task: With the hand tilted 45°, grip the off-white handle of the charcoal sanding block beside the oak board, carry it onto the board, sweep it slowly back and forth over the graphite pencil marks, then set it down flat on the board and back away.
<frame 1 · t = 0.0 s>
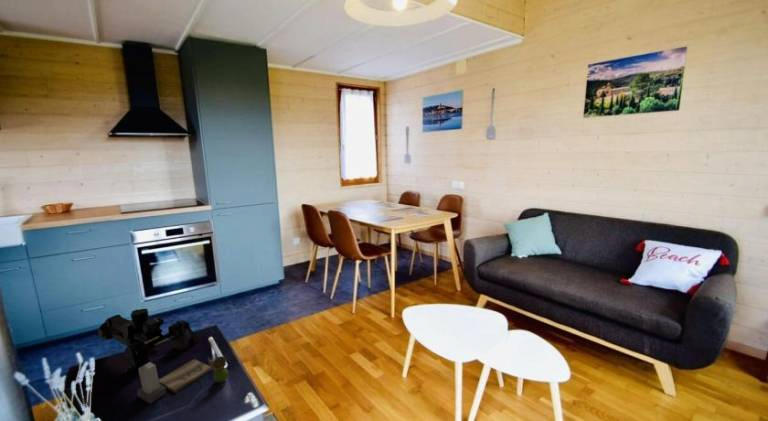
hand: (169, 346, 131), 17 cm above the table, tool horizontal, fingers open, 9 cm apart
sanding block: (152, 394, 129), on the table
oak board: (185, 376, 139), on the table
door stopper: (186, 345, 161), on the table
snail figurine: (220, 382, 135), on the table
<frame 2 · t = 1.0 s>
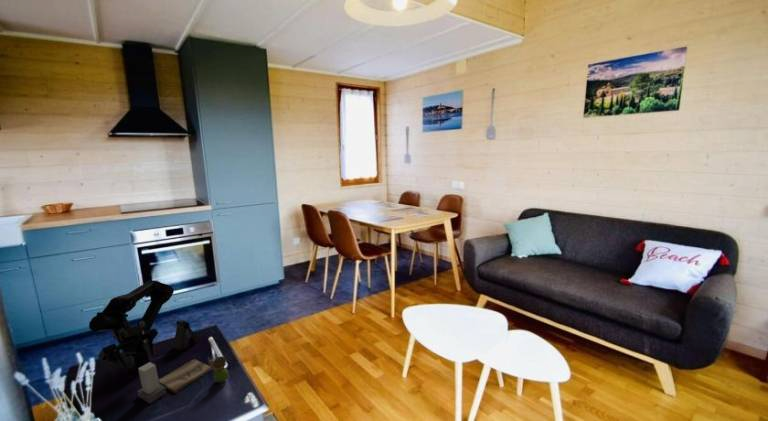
hand: (139, 362, 131), 11 cm above the table, tool tilted 45°, fingers open, 9 cm apart
nothing on the table moved.
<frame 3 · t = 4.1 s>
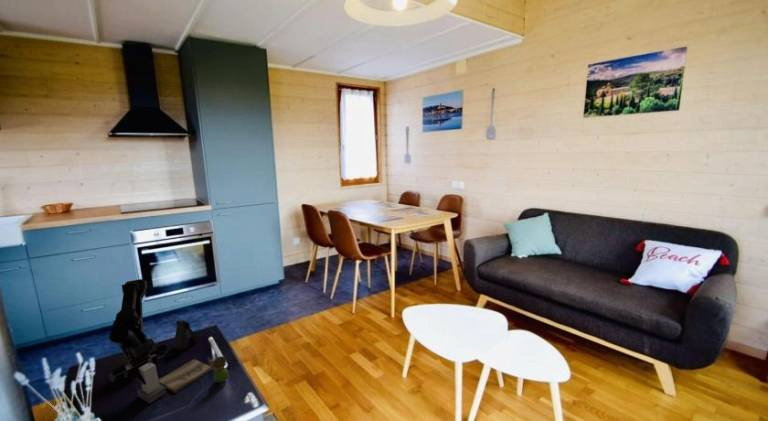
hand: (151, 380, 127), 7 cm above the table, tool tilted 45°, fingers closed on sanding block, 4 cm apart
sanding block: (152, 394, 129), on the table, touching gripper
everything else where it was.
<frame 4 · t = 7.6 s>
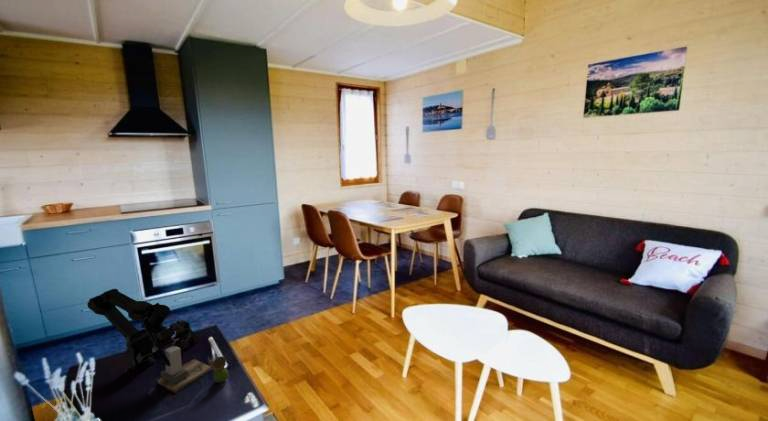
hand: (175, 362, 135), 8 cm above the table, tool tilted 45°, fingers closed on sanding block, 4 cm apart
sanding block: (174, 377, 136), point 2 cm above the table, touching gripper, oak board
everything else where it was.
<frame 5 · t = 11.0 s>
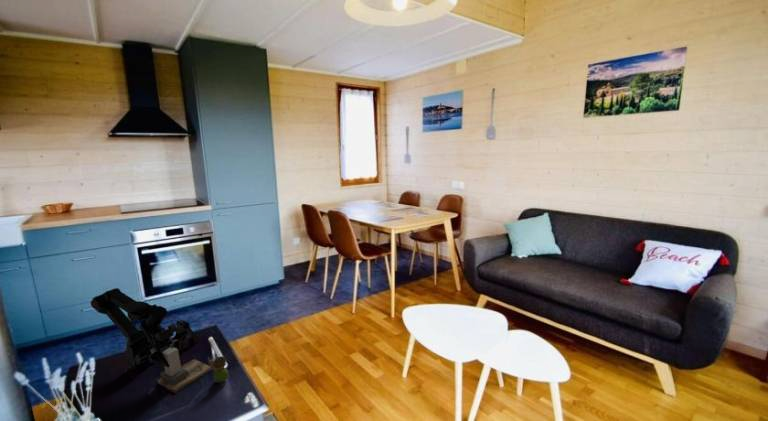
hand: (174, 363, 134), 8 cm above the table, tool tilted 45°, fingers closed on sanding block, 4 cm apart
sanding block: (174, 377, 137), point 1 cm above the table, touching gripper, oak board
everything else where it was.
when the fingers open (9 cm above the table, at t = 12.4 s): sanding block stays where it is, resting on oak board.
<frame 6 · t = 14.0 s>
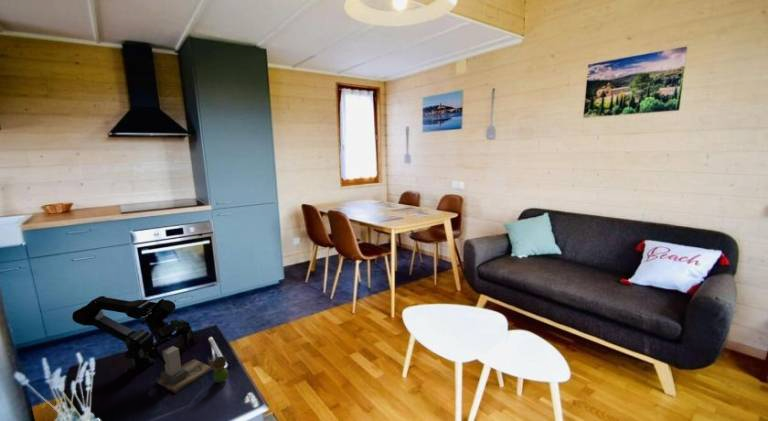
hand: (176, 357, 138), 8 cm above the table, tool tilted 45°, fingers open, 9 cm apart
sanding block: (174, 377, 137), point 1 cm above the table, touching gripper, oak board
everything else where it was.
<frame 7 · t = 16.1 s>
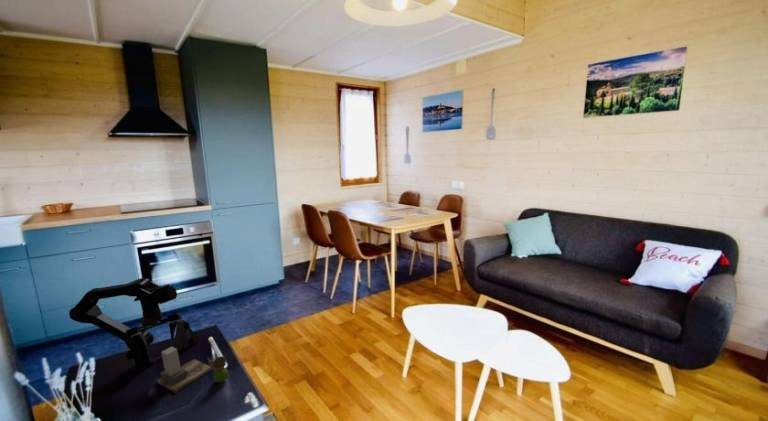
hand: (160, 345, 139), 13 cm above the table, tool tilted 25°, fingers open, 9 cm apart
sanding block: (174, 377, 137), point 1 cm above the table, touching oak board
everything else where it was.
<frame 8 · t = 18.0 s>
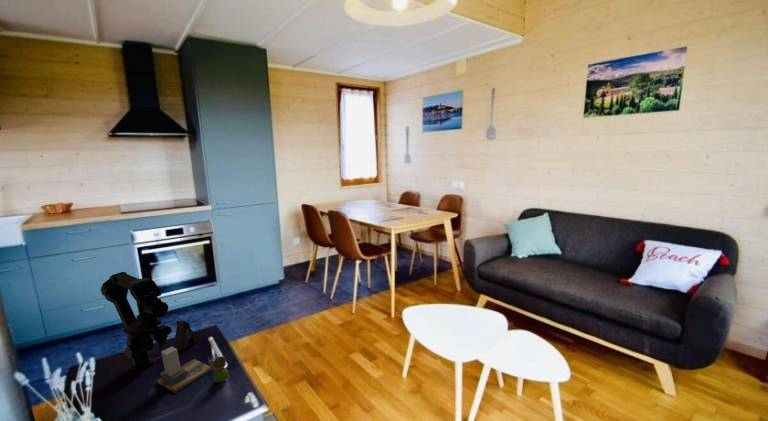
hand: (154, 346, 137), 13 cm above the table, tool pointing down, fingers open, 9 cm apart
nothing on the table moved.
at the end: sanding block inside the target area on the oak board (3.7 cm from its centre), point 1.2 cm above the oak board's base; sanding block tilted 1°; the gripper is holding nothing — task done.
